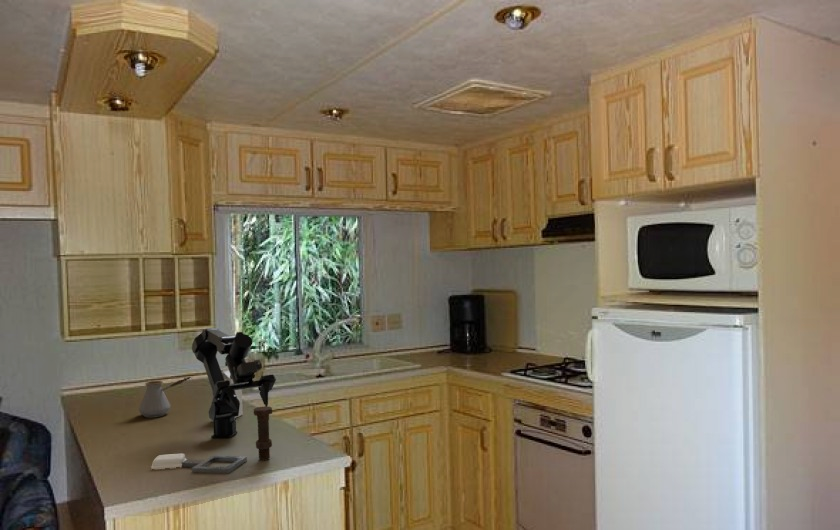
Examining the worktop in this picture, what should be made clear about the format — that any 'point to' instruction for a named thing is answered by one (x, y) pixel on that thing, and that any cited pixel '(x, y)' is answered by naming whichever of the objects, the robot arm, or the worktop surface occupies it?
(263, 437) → the bolt
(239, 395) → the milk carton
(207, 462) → the socket plate
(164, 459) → the soap
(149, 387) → the coffee pot
